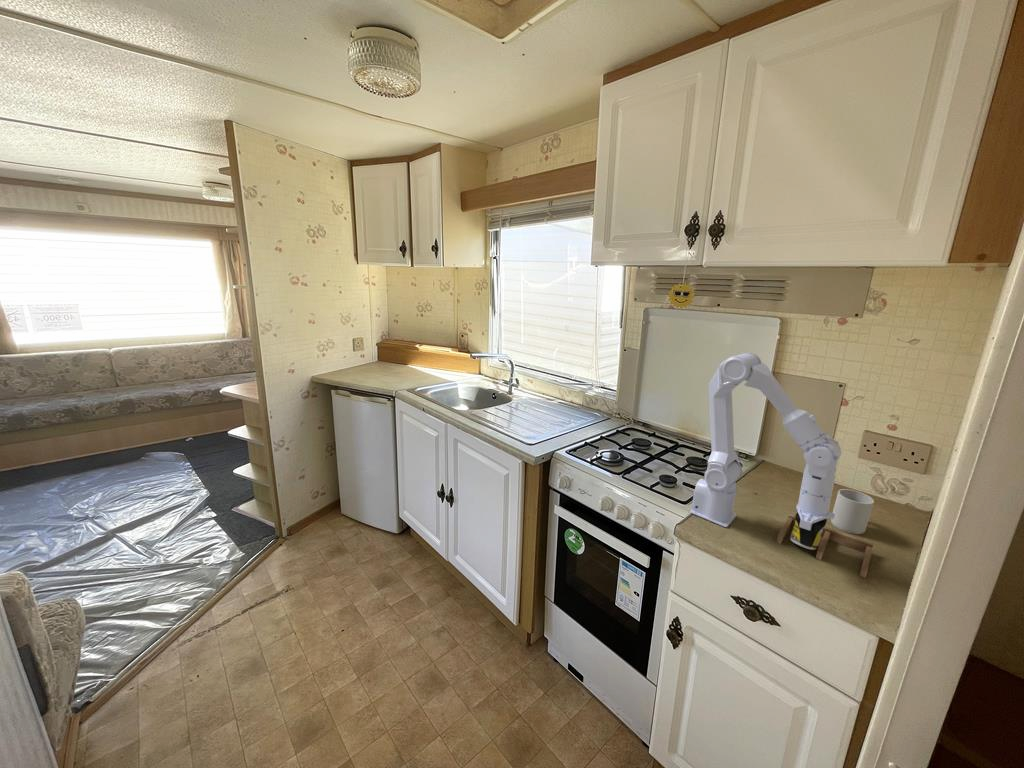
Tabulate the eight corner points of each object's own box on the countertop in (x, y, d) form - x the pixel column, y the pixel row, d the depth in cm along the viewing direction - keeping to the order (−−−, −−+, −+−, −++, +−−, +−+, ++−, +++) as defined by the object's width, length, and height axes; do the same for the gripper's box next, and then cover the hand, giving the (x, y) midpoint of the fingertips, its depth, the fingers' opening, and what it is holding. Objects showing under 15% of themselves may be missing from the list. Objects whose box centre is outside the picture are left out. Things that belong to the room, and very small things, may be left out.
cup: (828, 526, 109) (837, 496, 107) (832, 511, 116) (840, 482, 114) (864, 538, 105) (873, 507, 102) (865, 521, 112) (874, 492, 109)
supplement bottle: (784, 538, 102) (796, 500, 101) (800, 540, 103) (812, 503, 103) (804, 549, 97) (817, 509, 96) (821, 551, 98) (834, 512, 98)
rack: (776, 542, 102) (778, 533, 101) (787, 522, 110) (789, 514, 110) (865, 577, 91) (868, 568, 90) (870, 552, 99) (873, 543, 98)
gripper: (832, 509, 87) (821, 566, 90) (843, 486, 97) (832, 538, 100) (792, 497, 92) (783, 552, 95) (806, 477, 102) (797, 527, 105)
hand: (806, 544), depth 98 cm, fingers closed, pressing on supplement bottle
